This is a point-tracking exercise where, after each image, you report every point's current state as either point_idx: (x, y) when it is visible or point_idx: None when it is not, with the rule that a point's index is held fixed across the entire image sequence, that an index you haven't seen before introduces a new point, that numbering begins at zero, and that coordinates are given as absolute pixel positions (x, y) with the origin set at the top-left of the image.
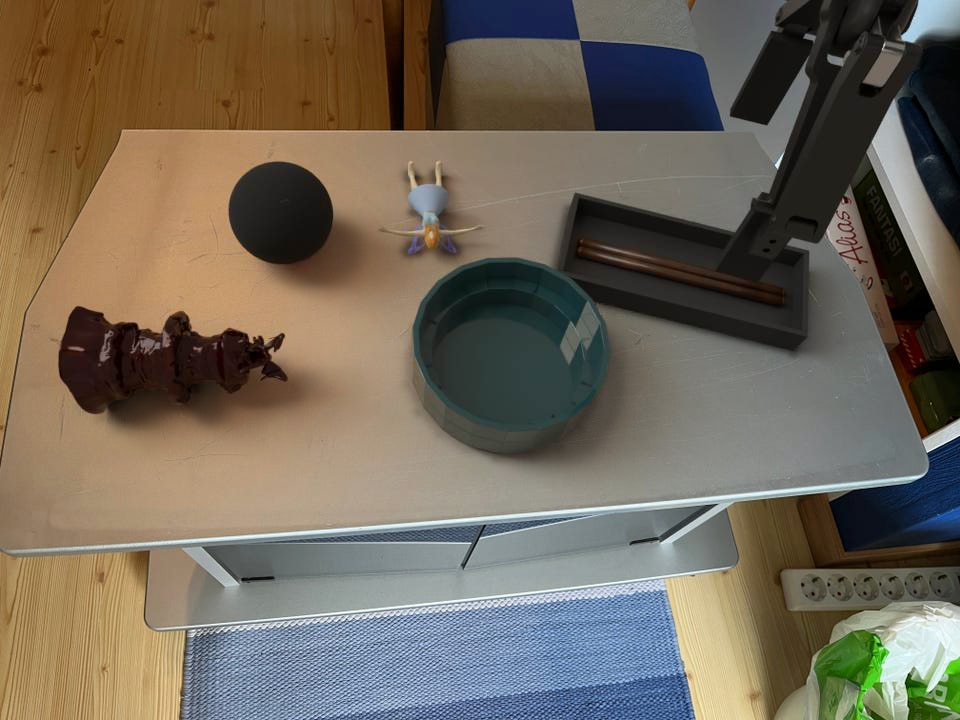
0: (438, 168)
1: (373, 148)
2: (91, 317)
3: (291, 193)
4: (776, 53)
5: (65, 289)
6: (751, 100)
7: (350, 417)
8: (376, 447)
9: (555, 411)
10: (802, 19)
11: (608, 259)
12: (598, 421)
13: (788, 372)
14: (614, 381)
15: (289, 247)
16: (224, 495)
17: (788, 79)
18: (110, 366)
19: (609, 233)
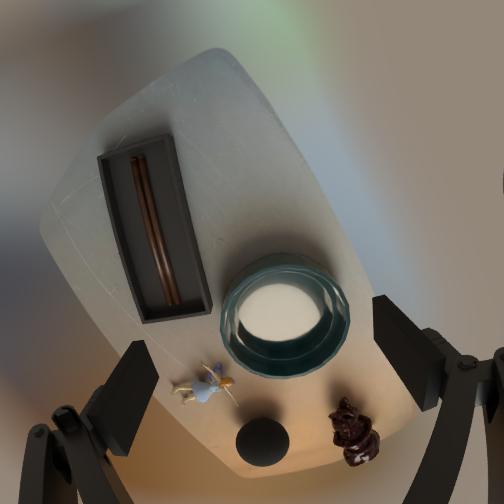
0: (174, 392)
1: (181, 417)
2: (352, 460)
3: (265, 454)
4: (125, 432)
5: (323, 461)
6: (146, 383)
7: (343, 361)
8: (354, 344)
9: (311, 277)
10: (116, 479)
11: (173, 283)
12: (291, 243)
13: (191, 134)
14: (258, 243)
15: (283, 435)
16: (392, 380)
17: (122, 386)
18: (370, 446)
19: (150, 287)
